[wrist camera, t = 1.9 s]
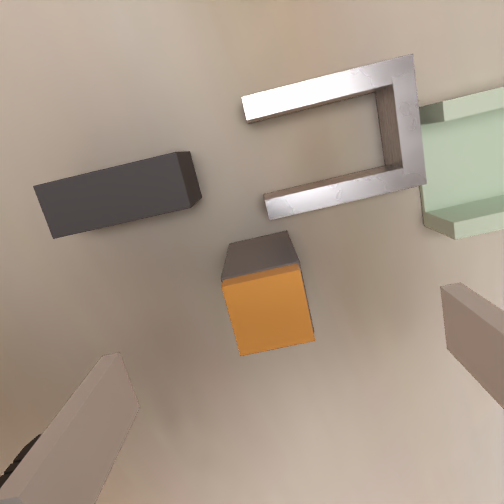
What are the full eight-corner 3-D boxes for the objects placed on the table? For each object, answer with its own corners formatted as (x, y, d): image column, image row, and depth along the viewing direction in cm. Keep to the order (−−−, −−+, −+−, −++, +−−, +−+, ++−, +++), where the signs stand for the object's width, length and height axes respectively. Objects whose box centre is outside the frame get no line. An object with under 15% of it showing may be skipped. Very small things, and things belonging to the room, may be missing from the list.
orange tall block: (243, 296, 26) (239, 358, 19) (229, 243, 25) (218, 285, 18) (298, 284, 26) (317, 342, 18) (286, 230, 25) (301, 267, 17)
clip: (267, 211, 25) (269, 220, 22) (243, 103, 23) (241, 97, 20) (406, 179, 24) (426, 183, 21) (392, 65, 22) (412, 53, 19)
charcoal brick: (88, 223, 25) (53, 238, 21) (72, 179, 24) (33, 186, 20) (202, 197, 25) (190, 207, 20) (190, 151, 24) (175, 152, 19)
